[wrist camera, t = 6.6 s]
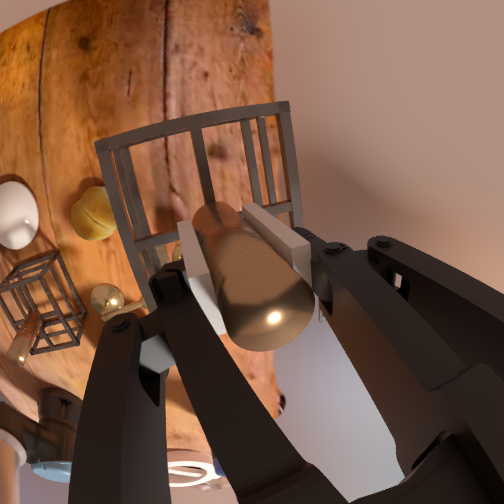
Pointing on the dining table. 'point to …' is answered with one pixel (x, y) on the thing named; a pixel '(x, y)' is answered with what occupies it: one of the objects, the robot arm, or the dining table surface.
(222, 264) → the wire frame cage
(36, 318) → the metal bar cube frame
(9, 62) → the dining table surface
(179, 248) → the balance
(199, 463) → the ring with crossbar
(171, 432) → the dining table surface
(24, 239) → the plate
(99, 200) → the bread roll
